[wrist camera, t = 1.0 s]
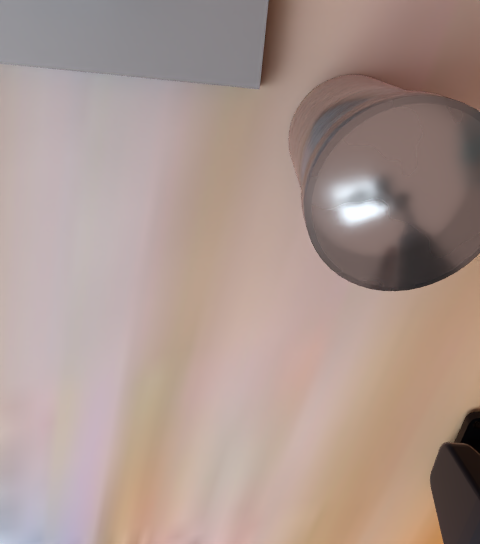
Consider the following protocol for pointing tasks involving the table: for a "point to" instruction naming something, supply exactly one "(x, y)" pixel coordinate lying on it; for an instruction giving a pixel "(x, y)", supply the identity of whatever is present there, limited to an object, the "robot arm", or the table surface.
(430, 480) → the robot arm
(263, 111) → the table surface
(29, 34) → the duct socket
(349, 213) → the cylinder
